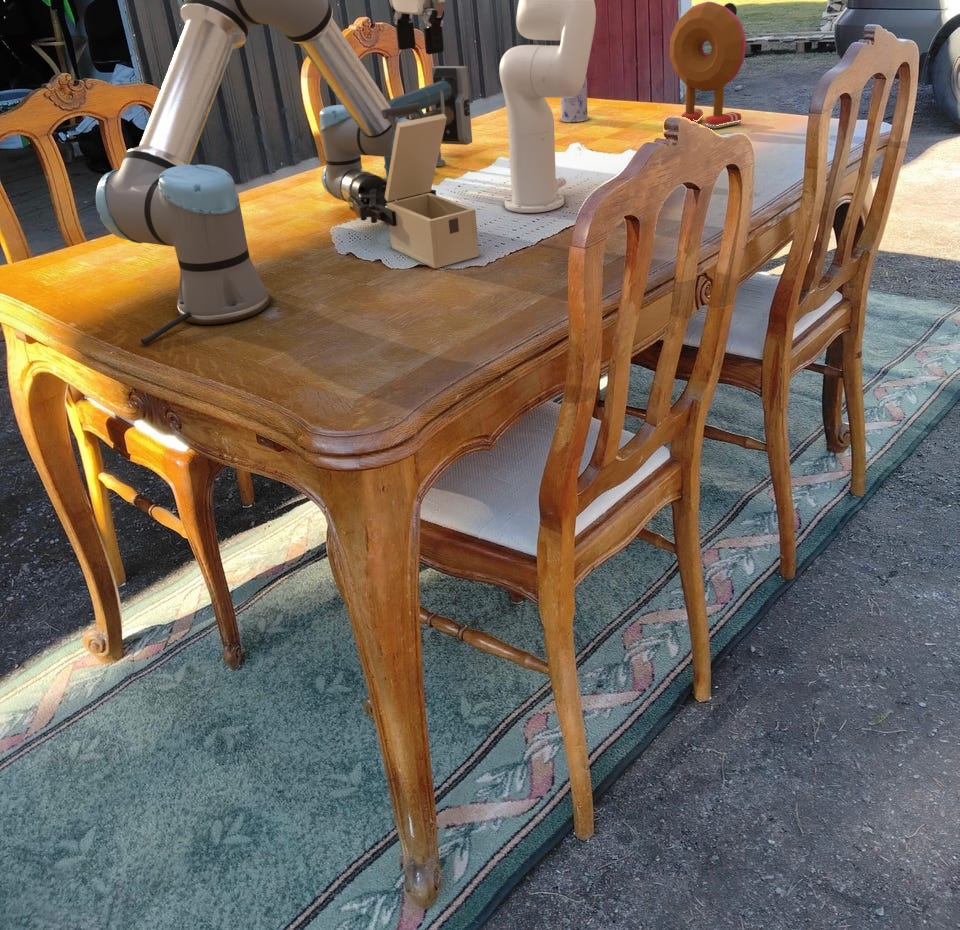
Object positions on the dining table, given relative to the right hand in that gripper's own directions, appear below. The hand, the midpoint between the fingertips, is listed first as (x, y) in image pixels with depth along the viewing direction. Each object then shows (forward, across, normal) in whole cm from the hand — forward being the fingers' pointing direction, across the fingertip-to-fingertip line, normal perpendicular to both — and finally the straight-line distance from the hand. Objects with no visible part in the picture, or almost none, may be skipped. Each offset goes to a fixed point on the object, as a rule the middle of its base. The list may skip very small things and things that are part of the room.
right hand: (420, 50), depth 164 cm
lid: (+19, +6, 0) cm, 20 cm away
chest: (+36, +2, 0) cm, 36 cm away
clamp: (+36, +59, -30) cm, 75 cm away
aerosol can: (+36, +77, -89) cm, 123 cm away
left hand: (+29, +7, 0) cm, 30 cm away
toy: (+36, +42, -108) cm, 121 cm away
